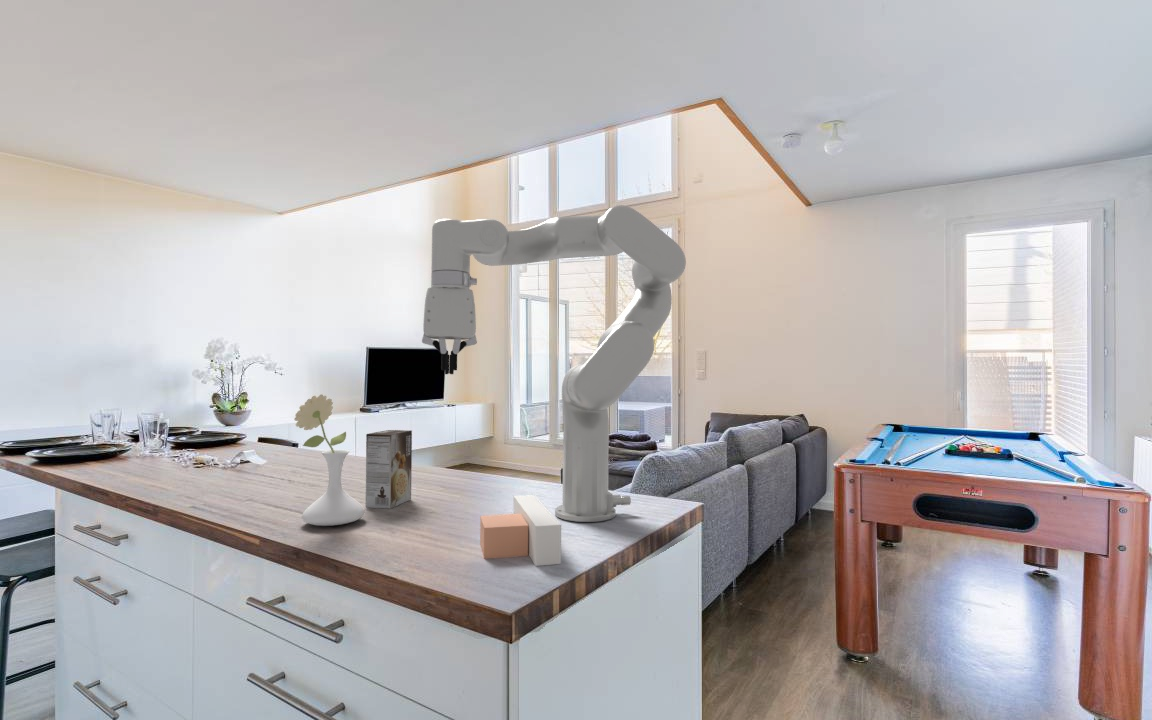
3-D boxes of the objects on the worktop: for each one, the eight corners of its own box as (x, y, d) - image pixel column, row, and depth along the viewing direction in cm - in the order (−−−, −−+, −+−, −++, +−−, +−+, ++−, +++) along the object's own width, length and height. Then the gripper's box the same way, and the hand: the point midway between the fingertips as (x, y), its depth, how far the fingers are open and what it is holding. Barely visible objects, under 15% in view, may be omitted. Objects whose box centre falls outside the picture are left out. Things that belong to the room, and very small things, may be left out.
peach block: (520, 542, 98) (520, 513, 98) (527, 556, 90) (528, 525, 90) (480, 544, 96) (480, 515, 96) (483, 559, 88) (484, 527, 89)
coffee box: (386, 498, 130) (387, 429, 131) (411, 500, 129) (413, 430, 129) (364, 507, 121) (365, 433, 122) (391, 509, 120) (392, 434, 120)
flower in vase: (351, 512, 117) (354, 392, 117) (375, 523, 108) (377, 394, 109) (283, 523, 108) (286, 393, 108) (303, 536, 99) (306, 395, 100)
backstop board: (533, 526, 107) (534, 494, 108) (560, 563, 86) (561, 524, 86) (513, 527, 106) (513, 495, 106) (535, 565, 85) (535, 526, 85)
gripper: (486, 287, 118) (484, 374, 117) (412, 283, 114) (410, 373, 113) (490, 281, 111) (488, 374, 110) (411, 277, 107) (409, 373, 106)
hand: (449, 374), depth 112 cm, fingers closed
